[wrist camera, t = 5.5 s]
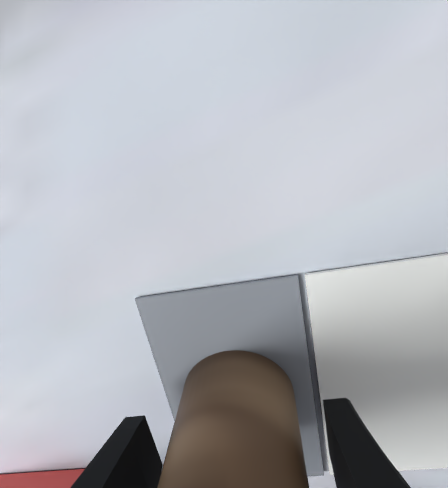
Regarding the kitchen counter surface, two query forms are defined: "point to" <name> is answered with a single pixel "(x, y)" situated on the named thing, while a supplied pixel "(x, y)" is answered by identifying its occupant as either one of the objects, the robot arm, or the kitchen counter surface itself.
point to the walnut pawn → (236, 427)
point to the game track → (329, 348)
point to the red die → (40, 479)
